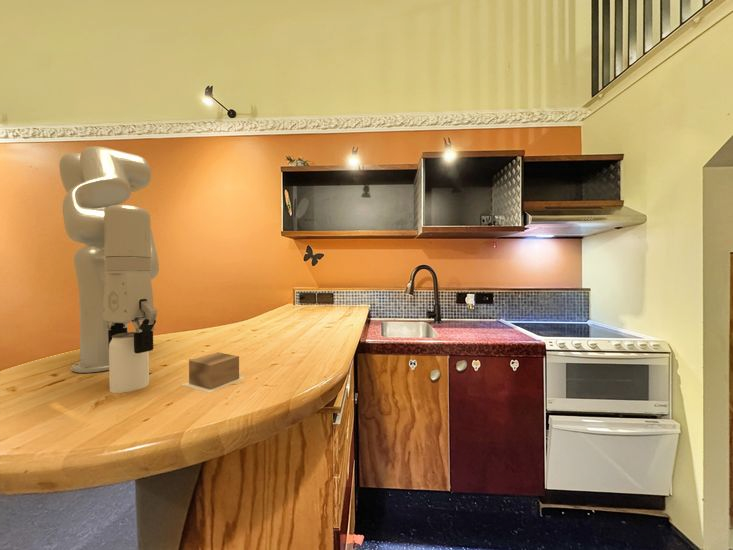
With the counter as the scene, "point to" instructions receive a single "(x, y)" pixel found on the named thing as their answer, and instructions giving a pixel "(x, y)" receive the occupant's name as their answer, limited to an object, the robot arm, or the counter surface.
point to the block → (213, 370)
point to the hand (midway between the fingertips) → (130, 349)
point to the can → (127, 364)
